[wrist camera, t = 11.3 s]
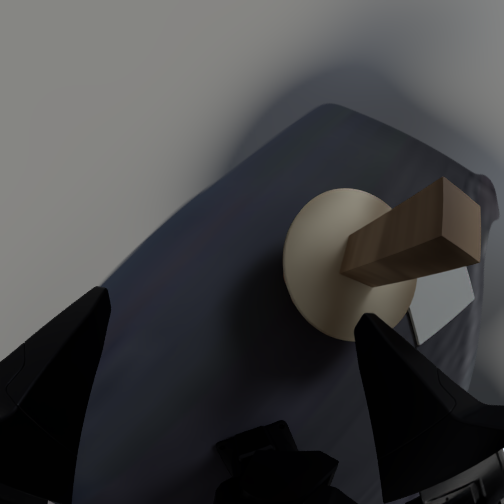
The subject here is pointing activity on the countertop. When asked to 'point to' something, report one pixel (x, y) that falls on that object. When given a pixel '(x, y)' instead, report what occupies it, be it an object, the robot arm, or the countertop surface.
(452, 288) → the mat
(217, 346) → the countertop surface
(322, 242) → the lid
